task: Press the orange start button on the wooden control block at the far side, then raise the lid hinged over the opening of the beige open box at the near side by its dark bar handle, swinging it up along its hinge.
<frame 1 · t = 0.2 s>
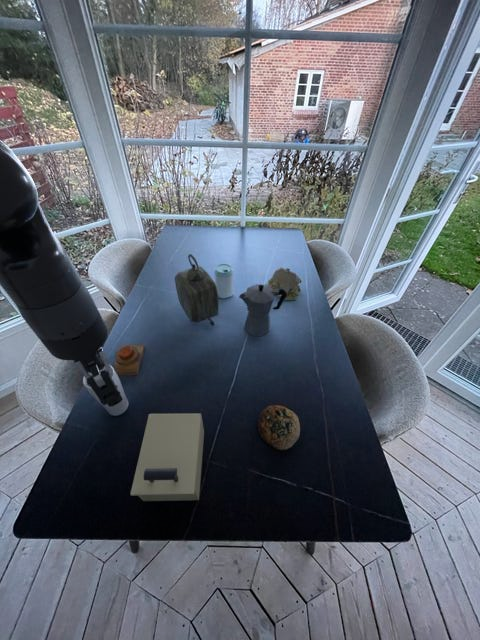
hand: (107, 383, 46), 26 cm above the table, tool pointing down, fingers open, 8 cm apart
drinking glass: (118, 407, 70), on the table
start button: (126, 353, 78), point 4 cm above the table, slide at 0.1 cm
can: (224, 294, 104), on the table
ceramic model: (283, 290, 107), on the table
control block: (130, 361, 81), on the table
tabletop clock: (199, 318, 94), on the table
beige open box: (176, 462, 61), on the table
bread roll: (278, 428, 67), on the table
coffeepot: (260, 326, 92), on the table
machine lid: (167, 446, 52), point 12 cm above the table, hinge at 0.0°
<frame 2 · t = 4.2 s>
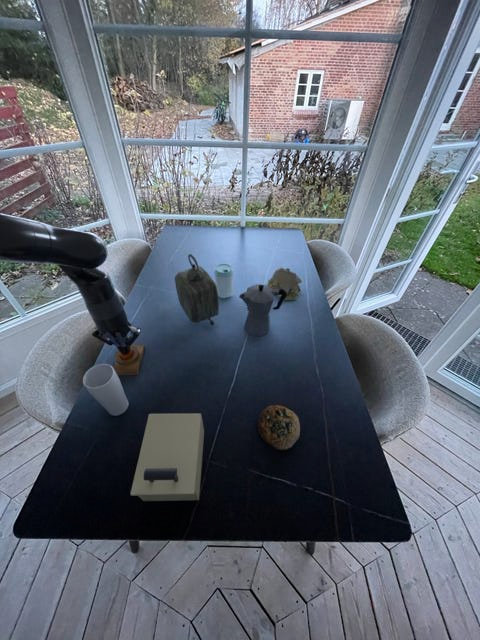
hand: (126, 351, 77), 4 cm above the table, tool pointing down, fingers closed
start button: (126, 353, 78), point 4 cm above the table, slide at -0.3 cm, touching gripper
everything else where it was.
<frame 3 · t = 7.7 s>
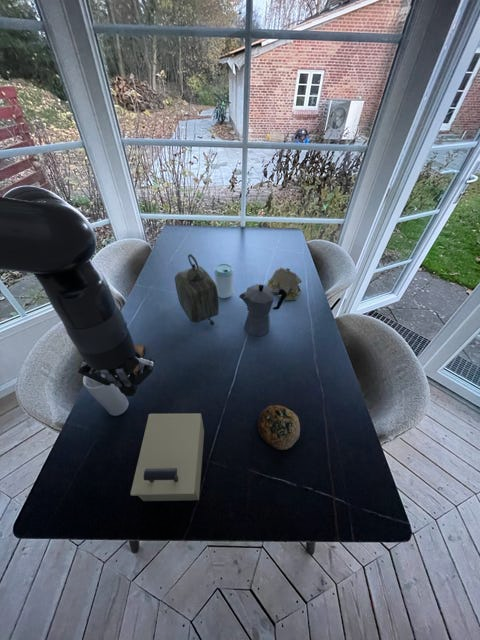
hand: (130, 391, 52), 19 cm above the table, tool pointing down, fingers closed
start button: (126, 353, 78), point 4 cm above the table, slide at 0.1 cm
everything else where it was.
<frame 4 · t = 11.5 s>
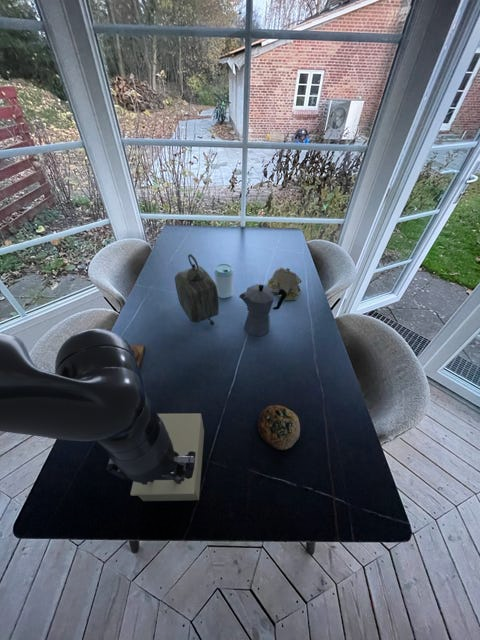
hand: (163, 478, 49), 11 cm above the table, tool pointing down, fingers closed on machine lid, 5 cm apart
machine lid: (167, 446, 52), point 12 cm above the table, hinge at 0.0°, touching gripper
everything else where it was.
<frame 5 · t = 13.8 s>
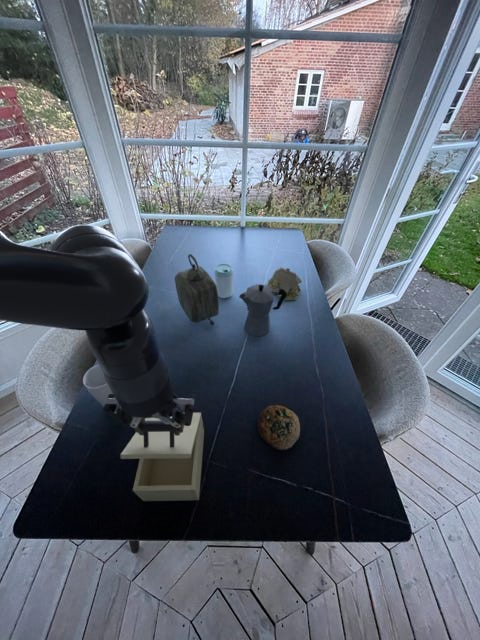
hand: (161, 430, 48), 19 cm above the table, tool pointing down, fingers closed on machine lid, 5 cm apart
machine lid: (166, 421, 52), point 16 cm above the table, hinge at 39.4°, touching gripper
everything else where it was.
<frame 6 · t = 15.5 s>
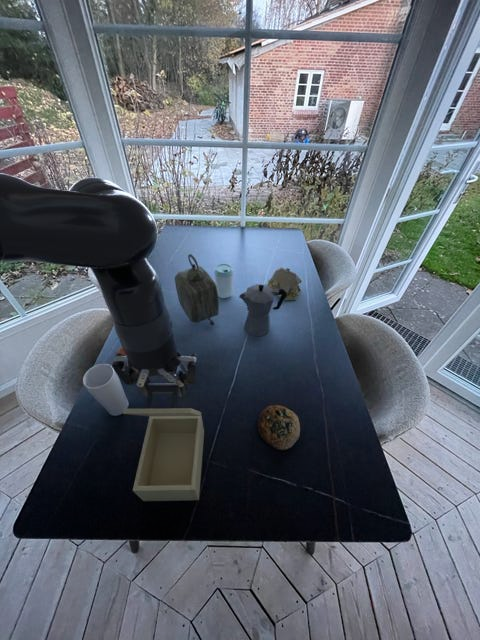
hand: (165, 391, 51), 21 cm above the table, tool pointing down, fingers closed on machine lid, 5 cm apart
machine lid: (168, 400, 53), point 17 cm above the table, hinge at 66.8°, touching gripper
everything else where it was.
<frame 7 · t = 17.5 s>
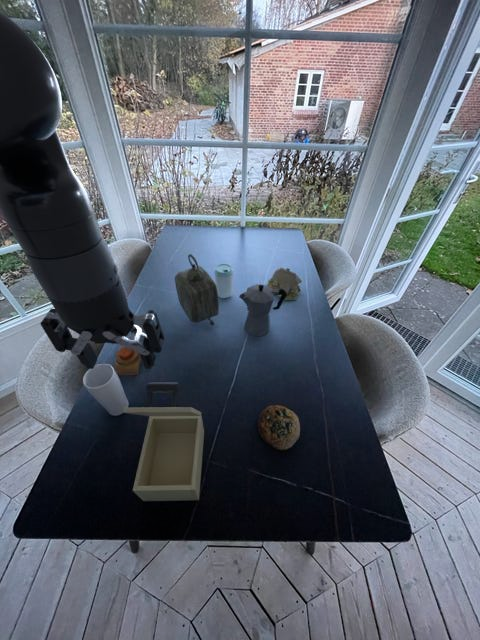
hand: (121, 364, 41), 33 cm above the table, tool pointing down, fingers open, 8 cm apart
machine lid: (168, 400, 53), point 17 cm above the table, hinge at 67.5°
everything else where it was.
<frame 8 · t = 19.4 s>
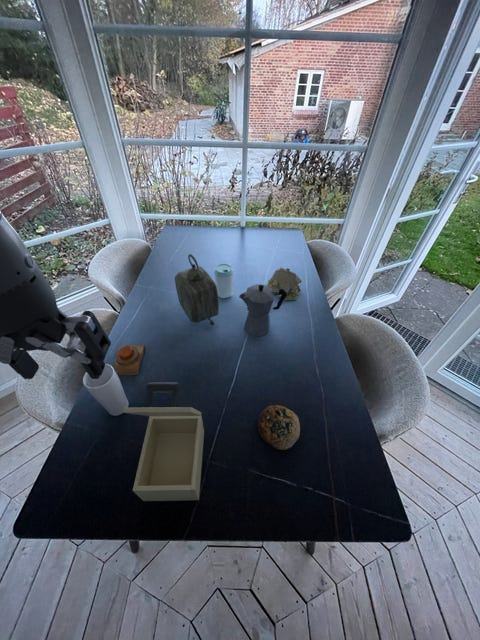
hand: (66, 373, 35), 36 cm above the table, tool pointing down, fingers open, 8 cm apart
nothing on the table moved.
at the end: start button pushed in 1.1 cm at the most during the clip, back to where it started at the end; start button slide at 0.1 cm; machine lid at +68° (first picture: +0°) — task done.
